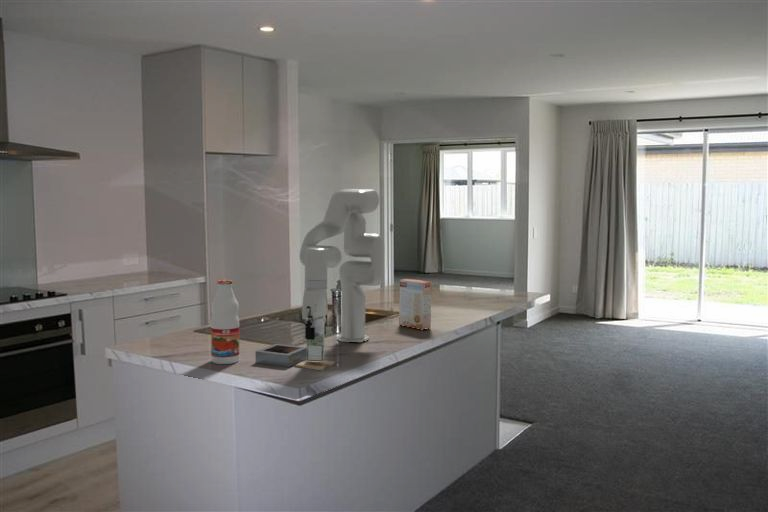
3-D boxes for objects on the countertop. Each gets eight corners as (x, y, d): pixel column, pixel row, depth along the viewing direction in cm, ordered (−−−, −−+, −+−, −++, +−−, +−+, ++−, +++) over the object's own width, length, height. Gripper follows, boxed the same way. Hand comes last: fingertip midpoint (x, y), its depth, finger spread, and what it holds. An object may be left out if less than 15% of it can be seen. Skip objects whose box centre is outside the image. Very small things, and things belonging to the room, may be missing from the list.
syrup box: (324, 357, 226) (324, 315, 224) (323, 361, 220) (323, 318, 218) (307, 357, 225) (308, 315, 224) (306, 361, 220) (306, 318, 218)
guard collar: (275, 354, 236) (275, 343, 236) (307, 358, 231) (307, 347, 231) (255, 362, 224) (255, 351, 224) (288, 367, 219) (288, 355, 219)
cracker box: (431, 329, 286) (432, 281, 284) (421, 331, 281) (422, 282, 279) (407, 324, 296) (408, 278, 294) (398, 326, 291) (399, 279, 289)
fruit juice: (239, 357, 231) (239, 278, 229) (239, 364, 222) (238, 281, 219) (212, 358, 229) (211, 278, 227) (210, 365, 220) (209, 282, 218)
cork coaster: (309, 359, 229) (309, 358, 229) (335, 363, 225) (335, 361, 225) (294, 366, 220) (295, 364, 220) (321, 370, 216) (321, 368, 216)
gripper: (318, 280, 230) (317, 331, 231) (293, 287, 214) (292, 340, 215) (337, 282, 227) (337, 333, 228) (313, 288, 211) (313, 343, 212)
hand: (315, 336), depth 222 cm, fingers closed on syrup box, 7 cm apart
